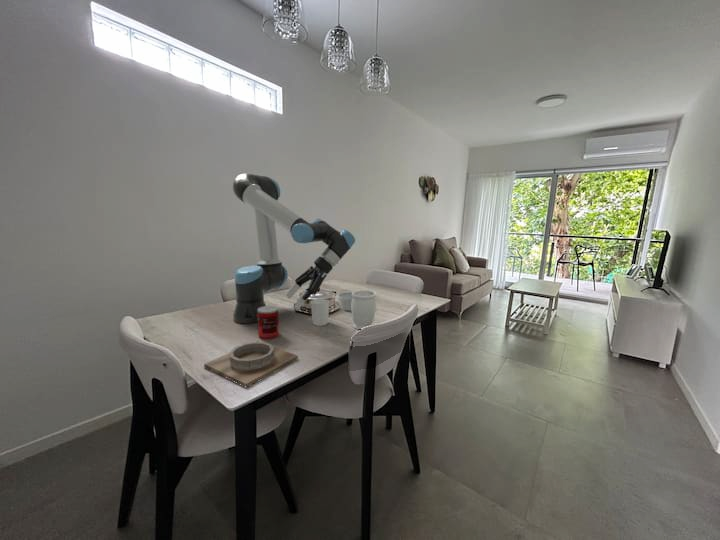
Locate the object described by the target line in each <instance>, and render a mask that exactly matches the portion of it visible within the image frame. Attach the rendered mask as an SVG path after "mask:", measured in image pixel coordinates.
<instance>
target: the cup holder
mask: <svg viewBox="0 0 720 540" xmlns="http://www.w3.org/2000/svg"><path fill="white" fill-rule="evenodd" d="M296 359H297V360H299V356H298V355H297V354H294V353H292V352H289V351H286V350H283V349H280V348H277V347H275V346H273V344H271V343H268V342H265V341H263V342H262V341H254V342H248V343H247V342H246V343H243V344H240V345H237V346H236V347H234V348H233V349H231V350H230V352H229V353H226V354H224V355H222V356H220V357H217V358H214V359H212V360H209V361H207V362H205V363H204V364H203V368H205V367H206V368H205V369H207V368H208V369H207V370H209V369H210V371H211V370H212V371H211V372H213V371H214V372H213V373H215V372H216V373H215V374H217V373H218V374H217V375H219V374H220V375H219V376H221V375H222V376H221V377H223V376H224V377H223V378H225V377H227V378H229V379H231V380H233V381H235V382H237V383H239V384H241V385H243V386H246V387H247V386H249V385H251V384H253V383H254V382H256V381H258V380H260V379H262V378H263V379H265V378H266V376H267V377H268V375H269V376H270V375H272V374H274V373H275V371H276V372H277V371H279V370H281V369H282V367H283V368H284V367H286V366H288V365H289V363H290V364H292V363H293V362H295V361H297V360H296ZM294 360H295V361H294ZM292 361H293V362H292ZM291 362H292V363H291ZM280 368H281V369H280ZM278 369H279V370H278ZM273 372H274V373H273ZM264 377H265V378H264ZM227 378H226V379H227ZM229 379H228V380H229ZM263 379H262V380H263ZM231 380H230V381H231ZM233 381H232V382H233ZM260 381H261V380H260ZM235 382H234V383H235ZM258 382H259V381H258ZM237 383H236V384H237ZM256 383H257V382H256ZM239 384H238V385H239ZM254 384H255V383H254ZM254 384H253V385H254ZM241 385H240V386H241ZM243 386H242V387H243ZM251 386H252V385H251ZM249 387H250V386H249ZM247 388H248V387H247Z"/></svg>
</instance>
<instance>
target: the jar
mask: <svg viewBox="0 0 720 540" xmlns="http://www.w3.org/2000/svg"><path fill="white" fill-rule="evenodd" d="M351 292H352V297H353V298H352V303H351V311H350V312H351V317H352V320H353V328H354V329H355V330H359V329H361V328H363V327H366V326H369V325H373V321H374V319H375V314H376V306H377V303H376V297H377V293H376V292H375V291H370V290H355V291H351ZM359 331H360V330H359Z"/></svg>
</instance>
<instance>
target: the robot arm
mask: <svg viewBox="0 0 720 540" xmlns="http://www.w3.org/2000/svg"><path fill="white" fill-rule="evenodd" d="M232 189H233V192H234V193H233V194H234V195H235V197H237V199H239V200H240V201H241V202H243V204H246V205H247V206H251V208H253V209H254V213H255V224H256V226H255V227H256V234H257V243H258V246H257V247H258V253H259V254H258V255H259V260H258V261H257V263H256V265H249V266H243V267H240V268H239V269H237V270H236V271H235V274H234V275H235V277H234V282H235V284H234V285H235V297H236V305H235V307H234V312H233V314H232V319H233V322H234V323H237V324H245V325H247V324H255V323H258V308H260V307H263V306H267V304H266V301H265V298H264V297H265V295H264V293H266V292H270V291H273V290H278V289H280V288H281V287H283V286H284V285H285V284H286V283H287V281H288V277H289V275H288V270H287V268H286V266H284V265H283V261H282V260H280V259H279V252H278V244H277V243H278V240H277V232H276V224H277V225H279V226H281V227H282V228H283V229H284V230H286V231H287V232H289V233H290V235H291V237H292V240H293V241H294V242H296V243H298V244H308V243H317V242H322V243H324V244H325V245H326V246H327V247H326V248H324V250H323V251H322V252H321V254H320V256H318V257H317V258H316V259H315V260H314V263H313V264H314V265H315V266H314V267H313V265H311V266H310V267H309V268H308V269H307V270H305V271H304V272H303V273H302V274H300V275H299V276H298V277H297V278H295V280H294V281H295V282H294V284H293V285H292V286H291V287H290V288H289V290H287V292H285V294H284V295H285V296H286V297H287V298H288V299H290V300H291V299H292V297H293V296H294V295H295V294H296V293H297V292H298V290H300V288H302V285H305V284H306V283H307V282H308V281H309V285H308V287H307V288H305V290H304V291H303V293H302V294H301V295H300V296H299V297H298V298H297V299H296V301H295V302H294V305H295V306H297V307H298V308H301V307H302V306H303V305H305V303H306V302H307V301H308V299H309V298H310V296H313V295H315V296H316V294H317V293H318V292H319V289H320V287H321V286H322V284H323V282H324V280H325V279H326V277H327V275H328V274H330V272H331V271H332V270H333V269H334V267H335V266H336V265H338V264H339V262H340V260H342V258H343V257H344V256H345V255H346V254H347V253H348V252H349V251H350V249H352V247H353V245H354V244H355V243H356V238H355V236H354V235H353V234H352V233H351V232H350V231H349V230H347V229H342V230H341V231H338V230H336V229H335V228H334V227H333V226H331V225H330V224H328V222H326V221H325V220H323V219H321V218H316V219H315V220H313V221H312V222H311V223H310V222H308V221H307V220H305V219H304V218H302V217H301V216H300V215H298V214H297V213H295V212H294V211H293V210H291V209H290V208H288V207H286V206H285V205H284V204H283V203H281V202H279V201H278V200H279V199H280V196H281V189H280V186H279V183H278V182H277V181H276V180H275V179H273V177H272V178H271V177H269V176H266V175H264V176H263V175H257V174H253V173H241V174H239V175H238V176H236V177H235V179H234V180H233V184H232Z"/></svg>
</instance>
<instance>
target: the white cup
mask: <svg viewBox="0 0 720 540" xmlns="http://www.w3.org/2000/svg"><path fill="white" fill-rule="evenodd" d="M310 306H311V308H310V309H311V318H312V319H311V320H312V325H314V326H320V327H321V326H322V327H323V326H326V325H327V324H328V323H329V315H330V312H329V310H330V300H328V299H325V298H317V299H313V300H311V301H310Z"/></svg>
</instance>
